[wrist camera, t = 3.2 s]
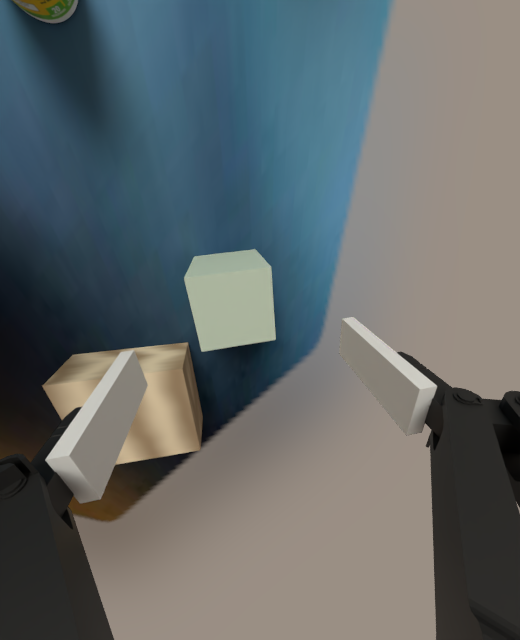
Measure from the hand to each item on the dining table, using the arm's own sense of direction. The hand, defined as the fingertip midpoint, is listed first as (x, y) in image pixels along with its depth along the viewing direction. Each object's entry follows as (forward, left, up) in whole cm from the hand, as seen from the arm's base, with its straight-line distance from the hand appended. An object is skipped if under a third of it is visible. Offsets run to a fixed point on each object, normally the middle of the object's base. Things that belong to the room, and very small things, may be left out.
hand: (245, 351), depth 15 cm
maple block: (-14, -14, -15) cm, 25 cm away
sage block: (0, 0, -15) cm, 15 cm away
